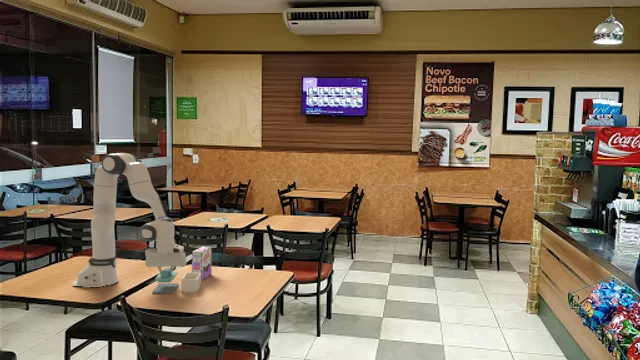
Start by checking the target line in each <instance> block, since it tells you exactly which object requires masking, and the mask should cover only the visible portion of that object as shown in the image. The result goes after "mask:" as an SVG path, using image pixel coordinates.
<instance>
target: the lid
mask: <svg viewBox="0 0 640 360" xmlns="http://www.w3.org/2000/svg"><path fill="white" fill-rule="evenodd" d="M171 270H172V268H171V266H170V267H164V268H163V269H162V272H161V273H162V275H160V273H158V275H157V276H156V277H155V278H154V281H155V282H157V283H158V284H159V283H172V281H174V279H175V277H177V275H178V271H172V275H169V271H171Z"/></svg>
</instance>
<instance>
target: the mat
mask: <svg viewBox="0 0 640 360" xmlns="http://www.w3.org/2000/svg"><path fill="white" fill-rule="evenodd" d="M178 286H179V283H177V282H176V283H175V282H173V283H172V282H164V283H158V284H157V286H156V287H155V288H154V289H153V290H152V292H151V294H152V295H173V294H174V293H175V292H176V290H177V288H178Z"/></svg>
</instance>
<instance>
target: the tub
mask: <svg viewBox="0 0 640 360" xmlns="http://www.w3.org/2000/svg"><path fill="white" fill-rule="evenodd" d="M180 283H181V285H180V286H181V288H180V289H181V293H182V294H183V293H184V294H185V293H187V294H188V293H189V294H192V293H194V294H197V293H198V292H199V290H200V288H201V287H202V281H201V273H192V272H185V274H184V275H183V276H182V277H181V282H180Z"/></svg>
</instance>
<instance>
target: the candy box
mask: <svg viewBox="0 0 640 360" xmlns="http://www.w3.org/2000/svg"><path fill="white" fill-rule="evenodd" d="M191 273H201V282H202V281H204V280H205V279H206V278H208V277H210V276H211V275H212V246H201V247H199V248H197V249H195V250H192V251H191Z"/></svg>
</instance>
